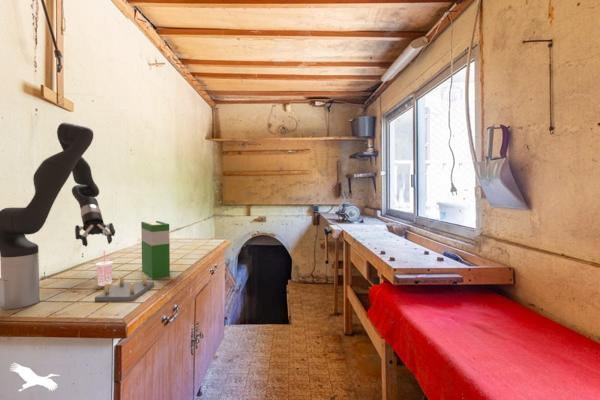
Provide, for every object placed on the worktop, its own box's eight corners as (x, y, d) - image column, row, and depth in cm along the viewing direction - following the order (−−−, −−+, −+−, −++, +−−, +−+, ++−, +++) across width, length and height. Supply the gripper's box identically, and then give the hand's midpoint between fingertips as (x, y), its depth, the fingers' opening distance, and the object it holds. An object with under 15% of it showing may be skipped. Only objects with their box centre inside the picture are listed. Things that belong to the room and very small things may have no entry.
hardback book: (141, 270, 135) (141, 221, 135) (158, 267, 140) (157, 220, 140) (152, 279, 122) (151, 225, 122) (169, 275, 127) (169, 224, 127)
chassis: (132, 300, 98) (132, 286, 98) (94, 301, 98) (94, 287, 98) (154, 285, 114) (154, 273, 114) (121, 285, 114) (121, 273, 114)
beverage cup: (115, 281, 120) (114, 248, 119) (111, 285, 114) (111, 251, 114) (98, 282, 117) (97, 250, 117) (93, 287, 112) (93, 253, 111)
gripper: (73, 211, 122) (79, 240, 115) (111, 210, 133) (118, 236, 125) (71, 222, 126) (76, 251, 118) (108, 220, 136) (115, 246, 129)
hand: (98, 243), depth 122 cm, fingers open, 8 cm apart
